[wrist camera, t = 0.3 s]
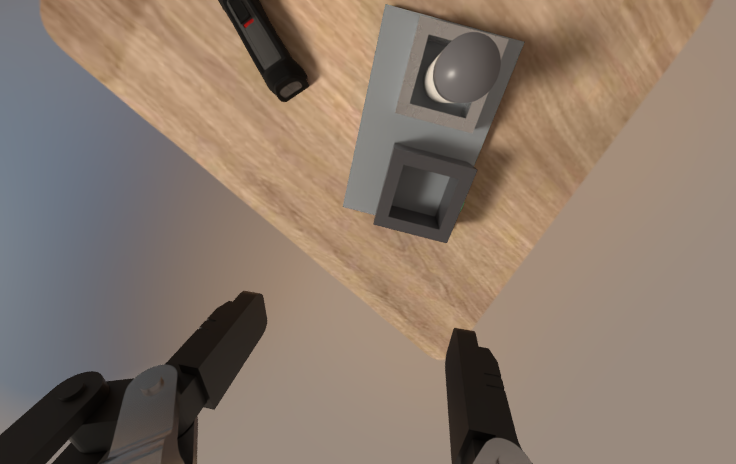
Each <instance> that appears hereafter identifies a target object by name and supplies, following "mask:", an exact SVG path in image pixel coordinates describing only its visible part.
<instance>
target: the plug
mask: <svg viewBox="0 0 736 464" xmlns="http://www.w3.org/2000/svg"><path fill="white" fill-rule="evenodd" d="M500 66H501V57H500V52H499V49H498V47H497V45H496V43H495V42H494V41H493V40H492V39H491V38H490V37H489V36H487V35H485V34H483V33H479V32H468V33H464V34H462V35H460V36H458V37H456V38H455V39H453V40H452V41H451V42H450V43H449V44H448V45H447V46H446V47H445V49H444V50H443V51H442V52H441V53H440V54H439V55H438V56H437V58H436V59H435V60H434V61H433V62H432V63H431V64H430V66H429V67H428V68H427V70H426V72H425V74H424V78H423V87H424V91H425V93H426V95H427V96H428V97H429V98H430V99H431V100H432V101H434V102H438V103H470V102H473V101H476V100H478V99H480V98H482V97H483V96H484V95H486V94H487V93H488V92H489V91H490V90H491V88H492V87H493V86H494V84H495V82H496V80H497V78H498V75H499V72H500Z"/></svg>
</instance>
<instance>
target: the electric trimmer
mask: <svg viewBox="0 0 736 464" xmlns="http://www.w3.org/2000/svg"><path fill="white" fill-rule="evenodd" d="M218 1H219V3H220V4H221V6H222V8H223V10H224V11H225V12H226V13H227V15H228V17H229V18H230V20H231V22H232V23H233V25H234V27H235V29H236V30H237V32H238V34H239V36H240V38H241V40H242V41H243V43H244V45H245V47H246V49H247V51H248V52H249V54H250V56H251V58H252V60H253V61H254V63H255V65H256V66H257V68H258V70H259V72H260V73H261V75H262V77H263V79H264V80H265V82H266V84H267V86H268V88H269V89H270V90H271V91H272V92H273V93H274V94H275V95H276V96H277V97H278V99H279V100H281V101H282V102H287V101H288V100H290V99H291V98H293V97H294V96H296V95H297V94H299V93H300V92H302V91H303V90H305V89H306V88H308V86H309V84H308V82H307V80H306V79H307V75H306V73H305V72H304V70H303V69H302V67H301V66H300V65H298V64H297V63H296V62H295V61H294V60H293V59H292V57H291V56H290V54H289V52H288V51H287V49H286V48H285V46H284V44H283V43H282V41H281V40H280V38H279V36H278V35H277V33H276V31H275V29H274V28H273V26H272V24H271V23H270V21H269V19H268V17H267V15H266V13H265V11H264V9H263V7H262V5H261V3H260V1H259V0H218Z"/></svg>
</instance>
